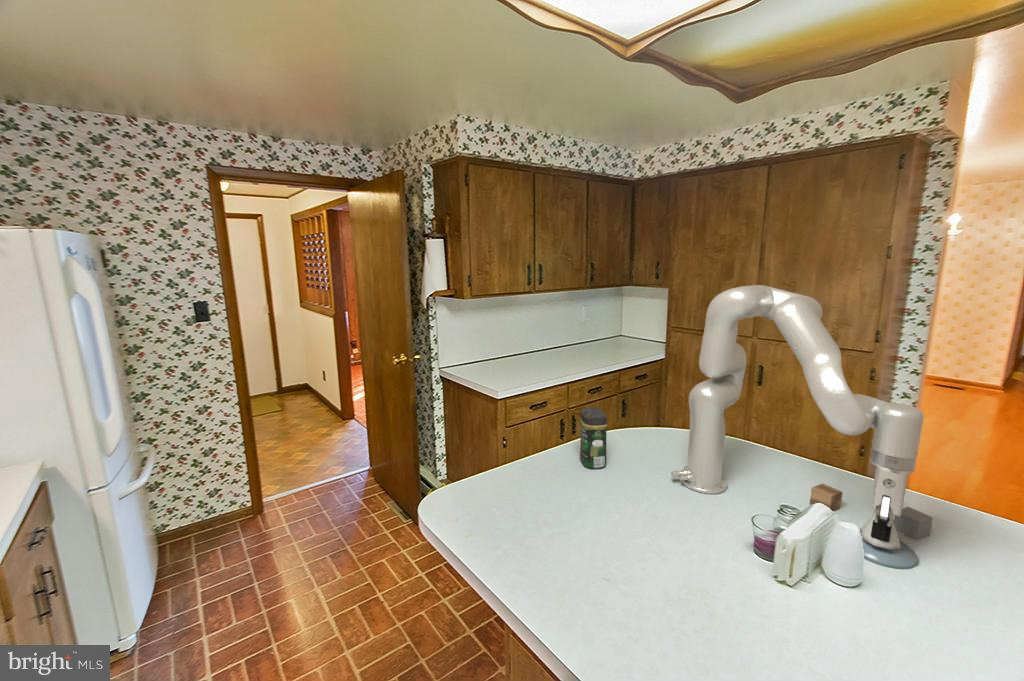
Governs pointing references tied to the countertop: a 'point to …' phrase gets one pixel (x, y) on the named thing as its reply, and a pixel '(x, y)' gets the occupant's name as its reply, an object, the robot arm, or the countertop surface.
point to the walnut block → (826, 496)
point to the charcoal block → (913, 523)
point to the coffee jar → (593, 438)
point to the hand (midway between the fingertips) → (880, 532)
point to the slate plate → (890, 555)
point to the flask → (889, 545)
